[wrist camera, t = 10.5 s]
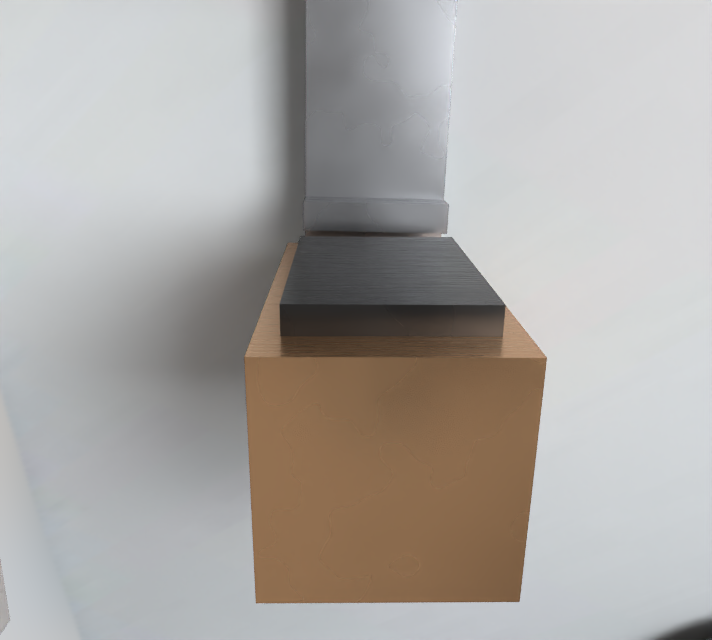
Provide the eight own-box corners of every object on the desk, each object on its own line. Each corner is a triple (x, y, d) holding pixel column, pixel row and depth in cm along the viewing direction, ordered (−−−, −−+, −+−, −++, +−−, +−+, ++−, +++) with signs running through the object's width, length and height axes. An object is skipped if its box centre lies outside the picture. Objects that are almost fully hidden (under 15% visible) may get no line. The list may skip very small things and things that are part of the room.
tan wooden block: (447, 397, 21) (519, 601, 12) (291, 397, 21) (255, 602, 12) (458, 223, 19) (550, 323, 11) (287, 222, 19) (242, 322, 11)
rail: (434, 411, 23) (508, 663, 13) (293, 409, 23) (254, 662, 13) (499, -493, 16) (812, -1675, 5) (289, -503, 16) (182, -1738, 5)
